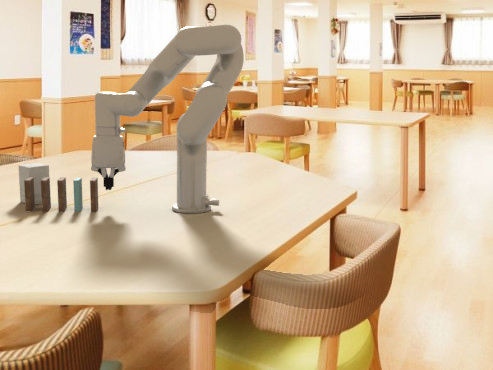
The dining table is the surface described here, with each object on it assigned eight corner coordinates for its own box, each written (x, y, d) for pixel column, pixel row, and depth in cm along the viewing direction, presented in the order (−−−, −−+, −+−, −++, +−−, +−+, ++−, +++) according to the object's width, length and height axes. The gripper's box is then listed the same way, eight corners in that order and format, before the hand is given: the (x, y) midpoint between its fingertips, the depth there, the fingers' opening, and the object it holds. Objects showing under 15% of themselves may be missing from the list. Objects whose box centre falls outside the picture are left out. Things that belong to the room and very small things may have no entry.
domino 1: (35, 207, 194) (33, 177, 192) (31, 211, 189) (29, 180, 187) (29, 207, 193) (28, 177, 191) (25, 211, 189) (24, 180, 187)
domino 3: (66, 207, 195) (65, 177, 193) (63, 211, 190) (62, 180, 188) (61, 207, 194) (60, 177, 192) (58, 211, 190) (57, 180, 188)
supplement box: (51, 202, 201) (49, 165, 199) (30, 205, 196) (28, 167, 193) (40, 198, 206) (38, 162, 204) (19, 201, 201) (17, 164, 198)
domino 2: (51, 207, 194) (49, 177, 192) (47, 211, 189) (46, 180, 187) (45, 207, 194) (44, 177, 192) (42, 211, 189) (40, 180, 187)
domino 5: (98, 207, 196) (97, 177, 194) (96, 211, 191) (95, 180, 189) (93, 207, 195) (92, 177, 193) (90, 211, 191) (90, 180, 189)
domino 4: (82, 207, 195) (81, 177, 193) (79, 211, 190) (78, 180, 188) (77, 207, 195) (76, 177, 193) (74, 211, 190) (73, 180, 188)
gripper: (133, 130, 193) (133, 187, 197) (85, 130, 191) (86, 186, 195) (130, 133, 186) (131, 191, 189) (81, 132, 184) (82, 191, 188)
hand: (108, 189), depth 192 cm, fingers closed
